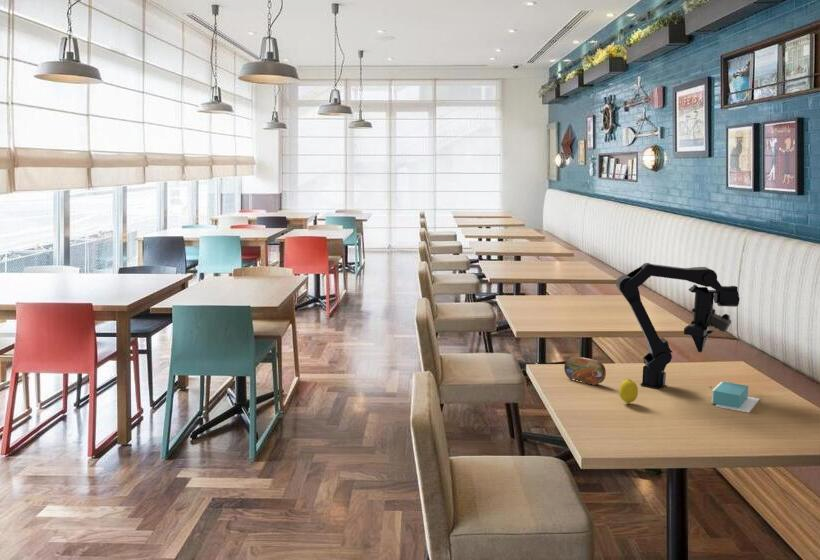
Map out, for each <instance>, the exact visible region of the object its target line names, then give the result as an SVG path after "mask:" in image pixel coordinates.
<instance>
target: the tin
mask: <svg viewBox="0 0 820 560" xmlns="http://www.w3.org/2000/svg"><path fill="white" fill-rule="evenodd" d="M563 368H564V369H563V370H564V373H565V375H566V377H568V379H569V380H571V379H575V380H578V381H582V382H586V383H589V384H588V385H590V384H592V385H591V386H597V385H599V384H601V383H602V382H604V380H605V379H606V375H607V370H606V367H605V365H604V364H603V363H602V362H601V361H599V360H598V359H597V360H596V359H592V358H587V357H583V356H578V355H577V356H571V357H568V359H566V361H565V363H564V366H563ZM586 383H585V384H586Z"/></svg>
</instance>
